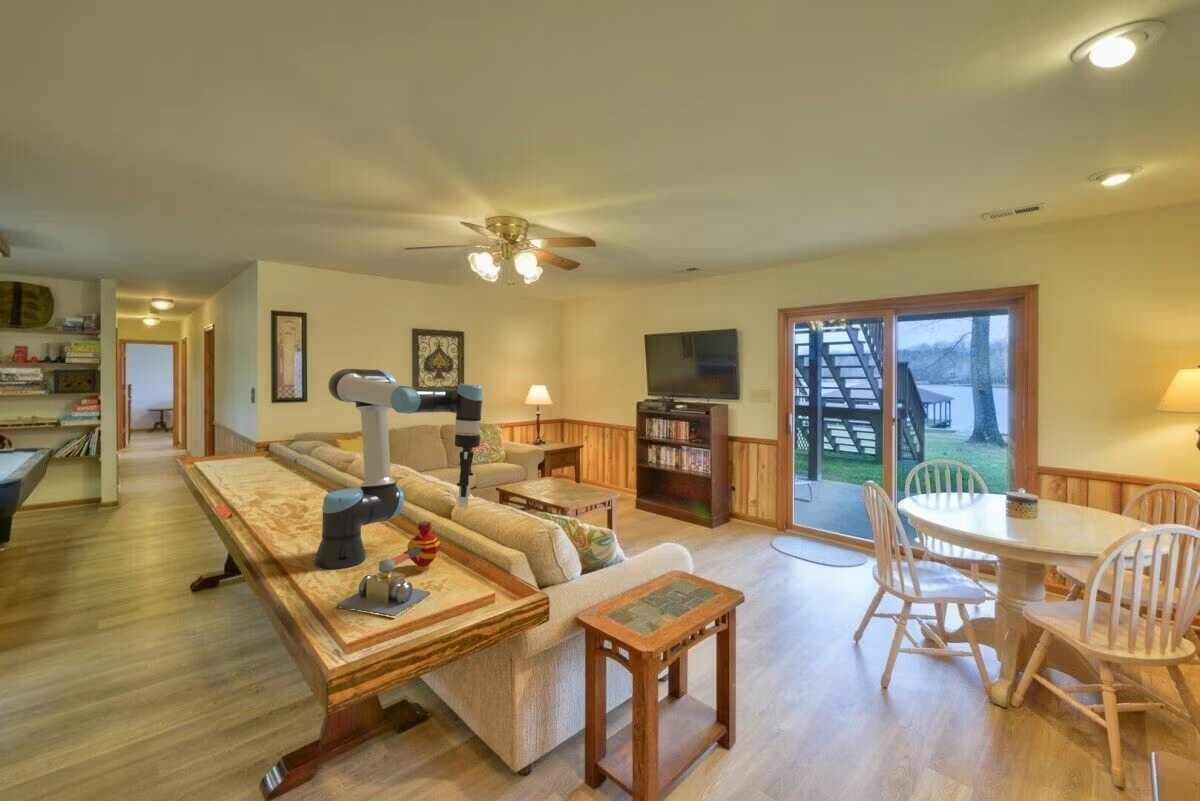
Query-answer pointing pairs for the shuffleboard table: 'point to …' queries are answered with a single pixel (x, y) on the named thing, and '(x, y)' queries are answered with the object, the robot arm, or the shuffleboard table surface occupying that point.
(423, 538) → the potion bottle
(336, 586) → the shuffleboard table surface
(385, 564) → the lever
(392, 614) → the slate board
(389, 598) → the valve body
